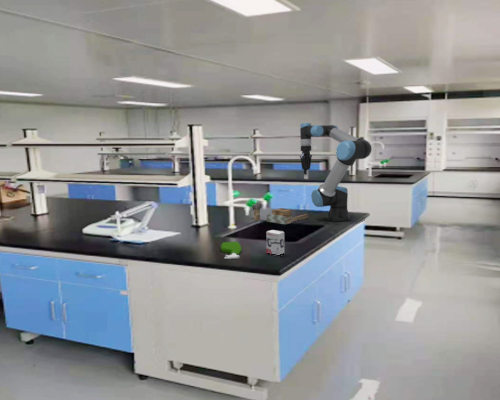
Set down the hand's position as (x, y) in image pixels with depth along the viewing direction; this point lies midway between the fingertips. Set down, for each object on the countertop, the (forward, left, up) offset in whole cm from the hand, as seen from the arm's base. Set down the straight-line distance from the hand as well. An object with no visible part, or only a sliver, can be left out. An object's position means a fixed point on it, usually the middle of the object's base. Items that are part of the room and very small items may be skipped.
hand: (306, 178), depth 322 cm
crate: (+4, +23, -28) cm, 36 cm away
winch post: (+20, +31, -28) cm, 46 cm away
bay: (+4, +16, -28) cm, 32 cm away
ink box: (-43, +89, -28) cm, 103 cm away
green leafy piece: (-24, +101, -28) cm, 108 cm away
